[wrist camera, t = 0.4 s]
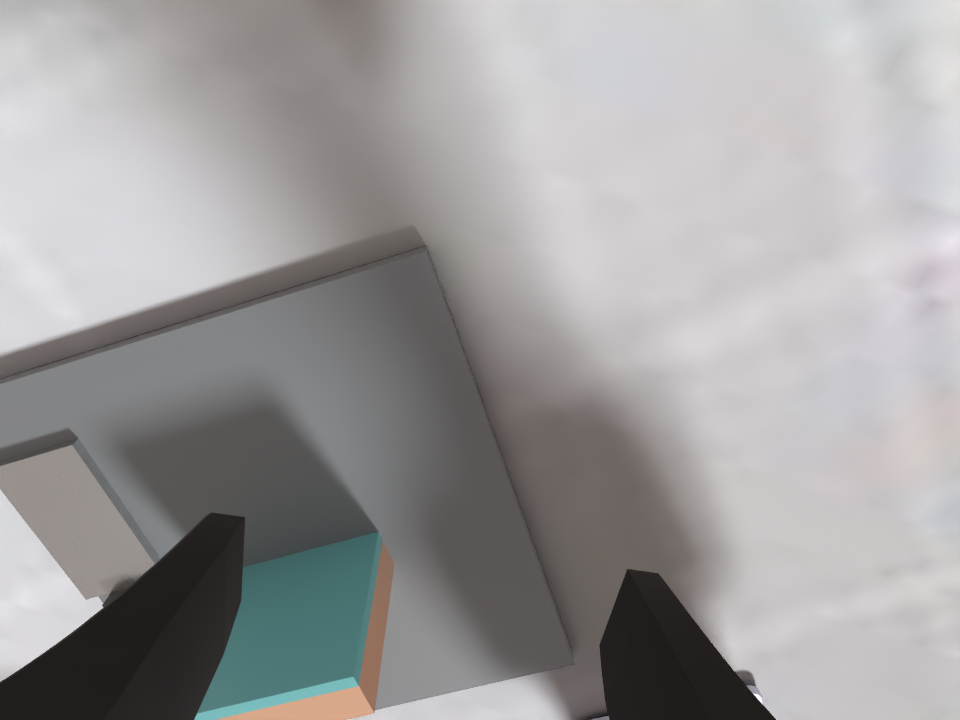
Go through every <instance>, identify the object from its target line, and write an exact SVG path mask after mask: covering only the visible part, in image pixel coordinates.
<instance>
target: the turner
mask: <svg viewBox="0 0 960 720" xmlns="http://www.w3.org/2000/svg"><path fill="white" fill-rule="evenodd" d="M0 489H1V491H2V492H3V493H4V494H5V496H6V497H7V498H8V500H9V501H10V502H11V503H12V505H13V506H14V507H15V509H16V510H17V511H18V512H19V514H20V515H21V516H22V518H23V519H24V520H25V521H26V523H27V524H28V525H29V527H30V528H31V529H32V531H33V532H34V533H35V534H36V536H37V537H38V538H39V540H40V541H41V542H42V543H43V545H44V546H45V547H46V549H47V550H48V551H49V552H50V554H51V555H52V556H53V558H54V559H55V560H56V561H57V563H58V564H59V565H60V567H61V568H62V569H63V570H64V572H65V573H66V574H67V576H68V577H69V578H70V579H71V581H72V582H73V583H74V585H75V586H76V587H77V588H78V590H79V591H80V592H81V594H82V595H83V596H84V597H85V599H89V598H93V597H97V596H100V595H104V594H108V593H110V594H109V596H108V597H107V599H106V600H105V602H104V604H103V605H102V606H103V607H105V606H106V605H108V604H109V603H110V602H111V601H113V600H114V599H115V598H116V597H118V596H119V595H120V594H121V593H122V592H124V591H125V590H126V589H127V588H128V587H129V586H130V585H132V584H133V583H134V582H135V581H136V580H137V579H138V578H140V577H141V576H142V575H143V574H144V573H145V572H146V571H148V570H149V569H150V568H151V567H152V566H153V565H154V564H156V563H157V562H158V561H159V560H160V559H161V558H160V557H159V555H158V554H157V552H156V551H155V549H154V548H153V546H152V545H151V543H150V542H149V540H148V539H147V538H146V536H145V535H144V533H143V532H142V530H141V529H140V527H139V526H138V524H137V523H136V521H135V520H134V519H133V517H132V516H131V514H130V513H129V511H128V510H127V508H126V507H125V505H124V504H123V502H122V501H121V500H120V498H119V497H118V495H117V494H116V492H115V491H114V489H113V488H112V486H111V485H110V483H109V482H108V481H107V479H106V478H105V476H104V475H103V473H102V472H101V470H100V469H99V467H98V466H97V464H96V463H95V462H94V460H93V459H92V457H91V456H90V454H89V453H88V451H87V450H86V448H85V447H84V446H83V444H82V443H81V441H80V440H79V438H78V439H74V440H71V441H67V442H64V443H61V444H57V445H54V446H51V447H47V448H44V449H40V450H37V451H34V452H30V453H27V454H24V455H20V456H17V457H13V458H10V459H7V460H3V461H0Z"/></svg>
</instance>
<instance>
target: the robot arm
mask: <svg viewBox="0 0 960 720" xmlns="http://www.w3.org/2000/svg"><path fill="white" fill-rule="evenodd" d="M244 534H245V517H241V516H234V515H227V514H219V513H212V512H211V513H210V514H208V515H206V516H205V517H204V518H203V519H202V520H201V521H200V522H199V523H198V524H197V525H196V526H195V527H194V528H193V529H192V530H191V531H190V532H189V533H188V534H186V535H185V536H184V537H183V538H182V539H181V540H180V541H179V542H178V543H177V544H176V545H175V546H174V547H173V548H172V549H171V550H170V551H169V552H167V553H166V554H165V555H164V556H163V557H162V558H161V559H160V560H159V561H158V562H157V563H156V564H154V565H153V566H152V567H151V568H150V569H149V570H148V571H146V572H145V573H144V574H143V575H142V576H141V577H140V578H138V579H137V580H136V581H135V582H134V583H133V584H132V585H130V586H129V587H128V588H127V589H126V590H125V591H124V592H122V593H121V594H120V595H119V596H118V597H116V598H115V599H114V600H113V601H111V602H110V603H109V604H108V605H106V606H105V607H104V608H103V609H101V610H100V611H99V612H98V613H96V614H95V615H94V616H93V617H91V618H90V619H89V620H87V621H86V622H85V623H84V624H82V625H81V626H80V627H79V628H77V629H76V630H75V631H73V632H72V633H71V634H69V635H68V636H67V637H65V638H64V639H63V640H61V641H60V642H59V643H57V644H56V645H54V646H53V647H52V648H50V649H49V650H47V651H46V652H45V653H43V654H42V655H40V656H39V657H37V658H36V659H34V660H33V661H32V662H30V663H29V664H27V665H26V666H24V667H23V668H21V669H20V670H18V671H17V672H15V673H14V674H12V675H11V676H9V677H8V678H6V679H4V680H3V681H1V682H0V720H194V719H195V717H196V715H197V712H198V710H199V708H200V706H201V704H202V701H203V699H204V697H205V695H206V693H207V690H208V688H209V686H210V684H211V682H212V679H213V677H214V675H215V673H216V671H217V668H218V666H219V664H220V662H221V659H222V657H223V655H224V652H225V649H226V646H227V643H228V640H229V637H230V634H231V631H232V628H233V625H234V622H235V619H236V616H237V613H238V609H239V606H240V603H241V598H242V576H243V555H244ZM600 656H601V667H602V677H603V686H604V694H605V701H606V706H607V711H608V715H609V716H604V717H600V718H595V719H591V720H776V719H775V718H774V717H773V716H772V714H771V713H770V712H769V711H768V710H767V709H766V708H765V707H764V705H763V700H762V696H761V694H760V691H759V690H758V688H757V687H755V686H751V685H745V684H744V683H743V681H742V680H741V679H740V678H739V677H738V675H737V674H736V673H735V672H734V671H733V669H732V668H731V667H730V666H729V664H728V663H727V662H726V661H725V660H724V658H723V657H722V656H721V655H720V653H719V652H718V651H717V649H716V648H715V647H714V646H713V644H712V643H711V642H710V641H709V639H708V638H707V637H706V635H705V634H704V633H703V632H702V630H701V629H700V628H699V626H698V625H697V624H696V622H695V621H694V620H693V618H692V617H691V616H690V615H689V613H688V612H687V611H686V609H685V608H684V607H683V605H682V604H681V603H680V601H679V600H678V599H677V597H676V596H675V595H674V593H673V592H672V591H671V589H670V588H669V587H668V585H667V584H666V583H665V581H664V580H663V579H662V578H661V576H660V575H659V574H658V573H652V572H644V571H637V570H630V569H627V572H626V574H625V577H624V580H623V583H622V585H621V588H620V591H619V594H618V596H617V599H616V602H615V604H614V607H613V610H612V613H611V615H610V618H609V621H608V624H607V626H606V629H605V632H604V634H603V637H602V640H601V643H600Z"/></svg>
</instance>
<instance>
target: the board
mask: <svg viewBox="0 0 960 720" xmlns="http://www.w3.org/2000/svg"><path fill="white" fill-rule="evenodd" d="M78 438H79V440H80V441H81V443H82V444H83V446H84V447H85V448H86V450H87V451H88V453H89V454H90V456H91V457H92V459H93V460H94V462H95V463H96V464H97V466H98V467H99V469H100V470H101V472H102V473H103V475H104V476H105V478H106V479H107V481H108V482H109V483H110V485H111V486H112V488H113V489H114V491H115V492H116V494H117V495H118V497H119V498H120V500H121V501H122V502H123V504H124V505H125V507H126V508H127V510H128V511H129V513H130V514H131V516H132V517H133V519H134V520H135V521H136V523H137V524H138V526H139V527H140V529H141V530H142V532H143V533H144V535H145V536H146V538H147V539H148V540H149V542H150V543H151V545H152V546H153V548H154V549H155V551H156V552H157V554H158V555H159V557H160V558H162V557H163V556H164V555H165V554H166V553H167V552H169V551H170V550H171V549H172V548H173V547H174V546H175V545H176V544H177V543H178V542H179V541H180V540H181V539H182V538H183V537H184V536H185V535H186V534H188V533H189V532H190V531H191V530H192V529H193V528H194V527H195V526H196V525H197V524H198V523H199V522H200V521H201V520H202V519H203V518H204V517H205V516H206V515H208V514H210V513H211V512H212V513H219V514H227V515H234V516H241V517H245V534H244V555H243V567H246V566H250V565H253V564H257V563H261V562H265V561H269V560H272V559H276V558H280V557H284V556H288V555H291V554H295V553H299V552H303V551H307V550H310V549H314V548H318V547H322V546H326V545H330V544H333V543H337V542H341V541H345V540H349V539H352V538H356V537H360V536H364V535H368V534H371V533H375V532H379V533H380V535H381V537H382V539H383V542H384V544H385V546H386V548H387V550H388V552H389V554H390V556H391V558H392V560H393V562H394V572H393V579H392V587H391V594H390V601H389V609H388V616H387V624H386V631H385V638H384V646H383V653H382V661H381V668H380V675H379V683H378V690H377V698H376V705H375V710H377V709H382V708H386V707H390V706H395V705H399V704H403V703H408V702H412V701H417V700H421V699H425V698H430V697H434V696H438V695H443V694H447V693H451V692H456V691H460V690H464V689H469V688H473V687H478V686H482V685H486V684H491V683H495V682H499V681H504V680H508V679H512V678H517V677H521V676H525V675H530V674H534V673H538V672H543V671H547V670H552V669H556V668H560V667H565V666H569V665H573V664H574V659H573V653H572V650H571V647H570V644H569V641H568V639H567V636H566V633H565V630H564V627H563V625H562V622H561V619H560V616H559V614H558V611H557V608H556V605H555V602H554V600H553V597H552V594H551V591H550V589H549V586H548V583H547V580H546V577H545V575H544V572H543V569H542V566H541V564H540V561H539V558H538V555H537V552H536V550H535V547H534V544H533V541H532V538H531V536H530V533H529V530H528V527H527V525H526V522H525V519H524V516H523V513H522V511H521V508H520V505H519V502H518V500H517V497H516V494H515V491H514V488H513V486H512V483H511V480H510V477H509V475H508V472H507V469H506V466H505V463H504V461H503V458H502V455H501V452H500V449H499V447H498V444H497V441H496V438H495V436H494V433H493V430H492V427H491V424H490V422H489V419H488V416H487V413H486V411H485V408H484V405H483V402H482V399H481V397H480V394H479V391H478V388H477V386H476V383H475V380H474V377H473V374H472V372H471V369H470V366H469V363H468V361H467V358H466V355H465V352H464V349H463V347H462V344H461V341H460V338H459V335H458V333H457V330H456V327H455V324H454V322H453V319H452V316H451V313H450V310H449V308H448V305H447V302H446V299H445V297H444V294H443V291H442V288H441V285H440V283H439V280H438V277H437V274H436V272H435V269H434V266H433V263H432V260H431V258H430V255H429V252H428V249H427V246H424V247H421V248H418V249H415V250H411V251H408V252H405V253H402V254H399V255H395V256H392V257H389V258H386V259H383V260H379V261H376V262H373V263H370V264H367V265H363V266H360V267H357V268H354V269H351V270H347V271H344V272H341V273H338V274H335V275H331V276H328V277H325V278H322V279H319V280H315V281H312V282H309V283H306V284H303V285H299V286H296V287H293V288H290V289H287V290H284V291H280V292H277V293H274V294H271V295H268V296H264V297H261V298H258V299H255V300H252V301H248V302H245V303H242V304H239V305H236V306H232V307H229V308H226V309H223V310H220V311H216V312H213V313H210V314H207V315H204V316H200V317H197V318H194V319H191V320H188V321H184V322H181V323H178V324H175V325H172V326H168V327H165V328H162V329H159V330H156V331H152V332H149V333H146V334H143V335H140V336H136V337H133V338H130V339H127V340H124V341H120V342H117V343H114V344H111V345H108V346H104V347H101V348H98V349H95V350H92V351H88V352H85V353H82V354H79V355H76V356H72V357H69V358H66V359H63V360H60V361H56V362H53V363H50V364H47V365H44V366H40V367H37V368H34V369H31V370H28V371H24V372H21V373H18V374H15V375H12V376H8V377H5V378H2V379H0V461H3V460H7V459H10V458H13V457H17V456H20V455H24V454H27V453H30V452H34V451H37V450H40V449H44V448H47V447H51V446H54V445H57V444H61V443H64V442H67V441H71V440H74V439H78ZM109 594H110V593H108V594H104V595H100V596H98V597H99V598H100V599H101V601H102V602H103V603H104V602H105V600H106V599H107V597H108V596H109Z"/></svg>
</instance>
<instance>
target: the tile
mask: <svg viewBox="0 0 960 720" xmlns="http://www.w3.org/2000/svg"><path fill="white" fill-rule="evenodd" d="M393 572H394V562H393V560H392V558H391V556H390V554H389V552H388V550H387V548H386V546H385V544H384V542H383V539H382V537H381V535H380V533H379V532H375V533H371V534H368V535H364V536H360V537H356V538H352V539H349V540H345V541H341V542H337V543H333V544H330V545H326V546H322V547H318V548H314V549H310V550H307V551H303V552H299V553H295V554H291V555H288V556H284V557H280V558H276V559H272V560H269V561H265V562H261V563H257V564H253V565H250V566H246V567H243V576H242V598H241V603H240V606H239V609H238V613H237V616H236V619H235V622H234V625H233V628H232V631H231V634H230V637H229V640H228V643H227V646H226V649H225V652H224V655H223V657H222V659H221V662H220V664H219V666H218V668H217V671H216V673H215V675H214V677H213V679H212V682H211V684H210V686H209V688H208V690H207V693H206V695H205V697H204V699H203V701H202V704H201V706H200V708H199V710H198V712H197V715H196V717H195V719H194V720H347V719H351V718H356V717H360V716H364V715H369V714H373V713H375V705H376V698H377V690H378V683H379V675H380V668H381V661H382V653H383V646H384V638H385V631H386V624H387V616H388V609H389V601H390V594H391V587H392V579H393Z"/></svg>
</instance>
